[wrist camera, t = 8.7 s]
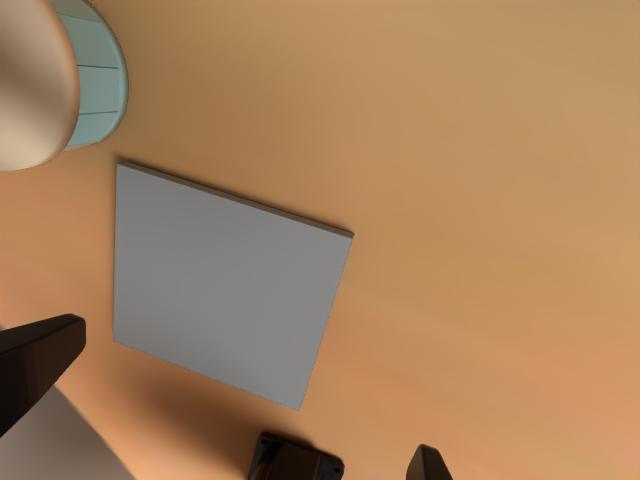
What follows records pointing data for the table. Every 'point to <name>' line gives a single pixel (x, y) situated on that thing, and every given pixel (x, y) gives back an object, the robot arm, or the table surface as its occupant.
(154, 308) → the mat
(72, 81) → the lid
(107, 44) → the bowl
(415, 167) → the table surface
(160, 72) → the table surface
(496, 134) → the table surface
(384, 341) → the table surface
